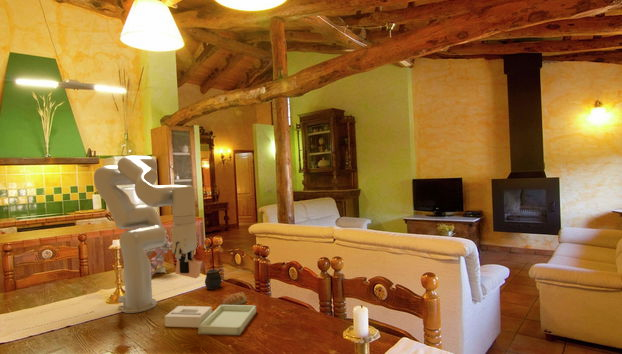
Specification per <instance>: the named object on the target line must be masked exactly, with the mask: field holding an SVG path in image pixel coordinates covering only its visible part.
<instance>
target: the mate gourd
mask: <svg viewBox="0 0 622 354" xmlns="http://www.w3.org/2000/svg"><path fill="white" fill-rule="evenodd" d="M205 274H206V276H205V280H204V285H205V287H206V288H207V289H209V290H216V289H219V288H220V286H221V285H222V276H221V274H220V270H219V269H218V268H212V269H208V270H207V271H206V273H205Z"/></svg>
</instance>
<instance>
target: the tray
mask: <svg viewBox="0 0 622 354" xmlns="http://www.w3.org/2000/svg"><path fill="white" fill-rule="evenodd" d="M256 313H257V305H254V304H253V305H250V304H248V305H246V304H240V305H222V304H220V305H219V306H217V308H216V309H215V310H214V311H212V313H211V314H210V315H209V316H208V317H207V318H206V319H205V320H204V321H203V322H202V323H201V324H200V325H199V326H198V327H197V330H198V331H197V332H198V335H219V336H222V335H224V336H240V335H241V334H242V332H243V331H244V330H245V328H247V326H248V325H249V323H251V322H250V321H251V320H252V319H253V318H254V316H255V315H256Z"/></svg>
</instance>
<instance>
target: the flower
mask: <svg viewBox="0 0 622 354" xmlns="http://www.w3.org/2000/svg"><path fill="white" fill-rule="evenodd" d="M164 229H165V232H166V233H167V229H166V228H164ZM169 239H170V236H169V235H168V234H166V242H165V243H164V244H163V245H162V246H160V247H157V248H153V249H148V250H145V251H144V252H145V254H146V255H147V256H148V257H150V256H151V254H152V253H153V252H155V256H154V257H152V258H150V263H151V277H152V276H154V275H155V274H158V273H161V274H162V273H165V274H167V271H166V269H167V268H166V266H163V265H164V259H165V255H166V254H167V253H168V252H169V250H171V251H172V241H171V242H170V241H169ZM158 266H159V267H158Z"/></svg>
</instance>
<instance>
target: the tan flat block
mask: <svg viewBox="0 0 622 354" xmlns="http://www.w3.org/2000/svg"><path fill="white" fill-rule="evenodd" d="M187 262H189V273H180V262H179V260H178V259H176V265H175V270H174V271H175V272H174V274H176V275H180V276H185V277H189V278H193V279H197V278H199V277H200V275H201V267H202V262H201V261H196V260H193V261H192V260H188V261H187Z"/></svg>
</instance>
